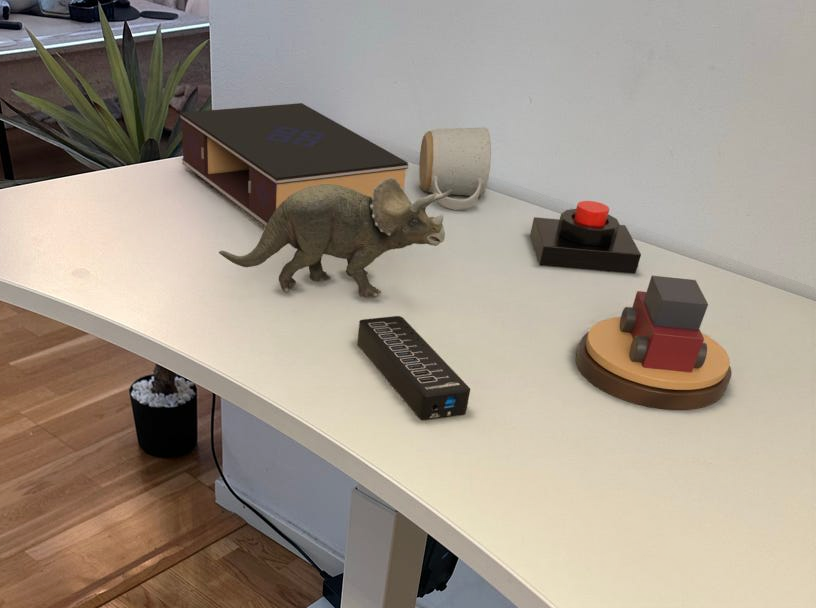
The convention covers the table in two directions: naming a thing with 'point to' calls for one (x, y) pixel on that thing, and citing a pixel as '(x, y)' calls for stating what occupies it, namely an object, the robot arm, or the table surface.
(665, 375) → the toy car
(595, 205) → the button
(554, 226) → the control box
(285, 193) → the miniature wooden cabinet
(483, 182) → the ceramic mug
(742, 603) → the table surface
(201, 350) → the table surface
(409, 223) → the toy dinosaur
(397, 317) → the multiport hub
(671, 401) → the turntable base
